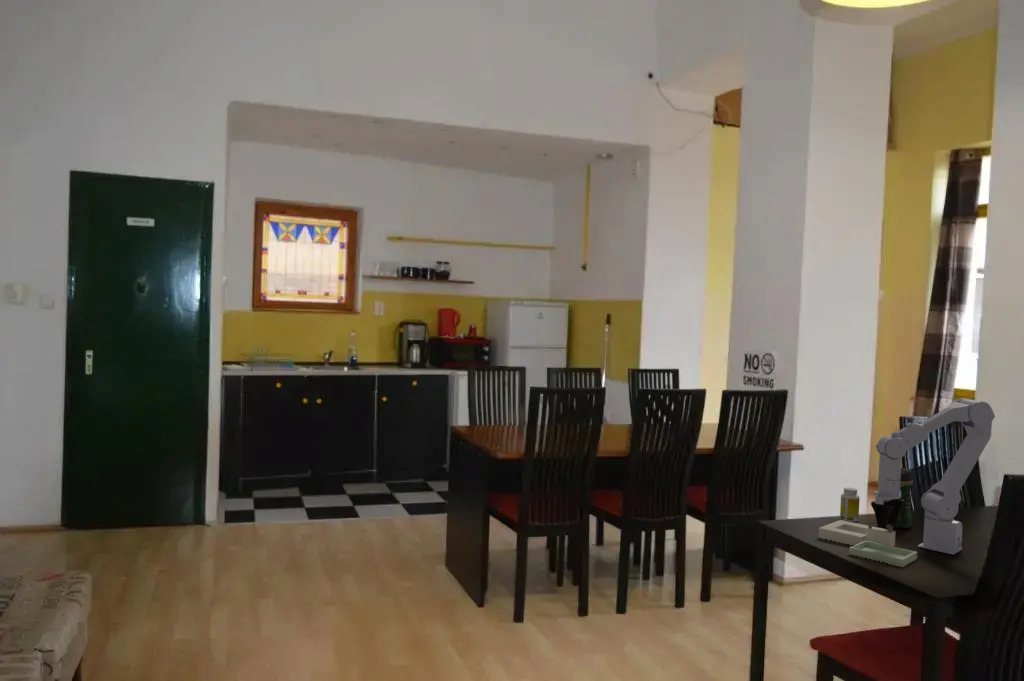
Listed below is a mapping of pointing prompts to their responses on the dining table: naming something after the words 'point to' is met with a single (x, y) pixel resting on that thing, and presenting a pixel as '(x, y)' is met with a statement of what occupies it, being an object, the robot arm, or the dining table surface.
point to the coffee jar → (905, 487)
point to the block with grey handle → (880, 534)
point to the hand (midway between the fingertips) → (887, 525)
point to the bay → (844, 532)
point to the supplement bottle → (849, 505)
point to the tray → (883, 553)
